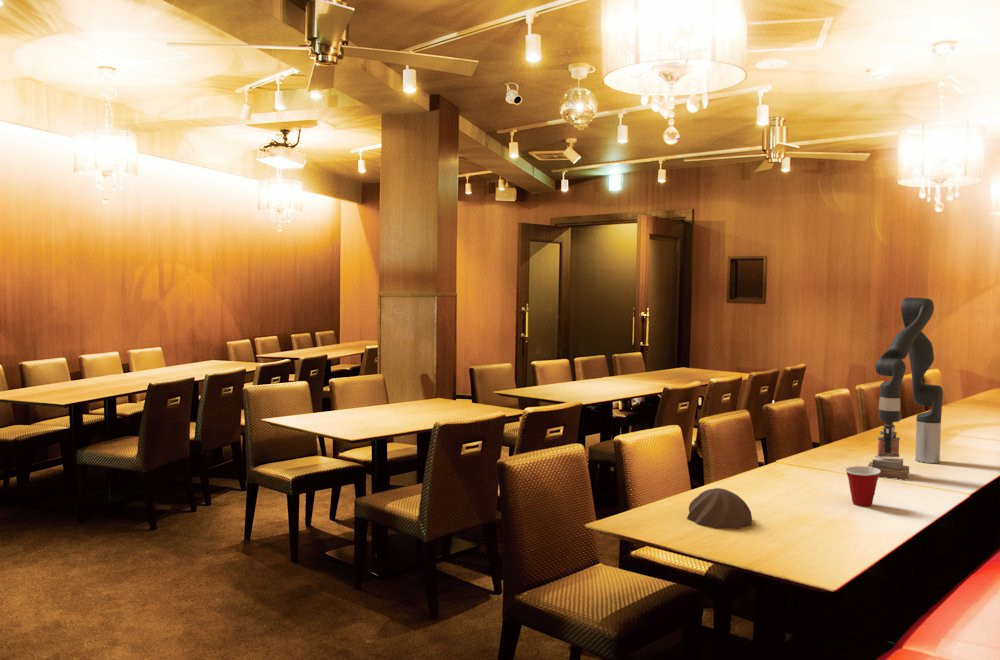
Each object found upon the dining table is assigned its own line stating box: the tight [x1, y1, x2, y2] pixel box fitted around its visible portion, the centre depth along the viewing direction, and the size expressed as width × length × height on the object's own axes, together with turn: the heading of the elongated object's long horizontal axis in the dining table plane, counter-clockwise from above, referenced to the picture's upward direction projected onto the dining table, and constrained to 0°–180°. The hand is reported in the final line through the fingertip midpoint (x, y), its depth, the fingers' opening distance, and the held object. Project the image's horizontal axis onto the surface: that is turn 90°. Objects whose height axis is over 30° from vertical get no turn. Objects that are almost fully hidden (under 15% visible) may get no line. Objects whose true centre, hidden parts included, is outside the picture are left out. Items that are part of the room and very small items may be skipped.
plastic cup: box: [844, 465, 881, 507], centre depth 249 cm, size 11×11×12 cm
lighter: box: [876, 430, 901, 458], centre depth 294 cm, size 8×3×10 cm, turn 84°
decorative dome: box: [686, 487, 753, 530], centre depth 229 cm, size 19×20×10 cm
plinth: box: [866, 455, 910, 480], centre depth 295 cm, size 14×14×6 cm
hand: (888, 451), depth 295 cm, fingers closed on lighter, 4 cm apart
